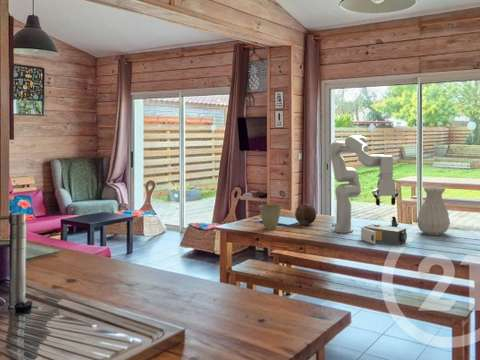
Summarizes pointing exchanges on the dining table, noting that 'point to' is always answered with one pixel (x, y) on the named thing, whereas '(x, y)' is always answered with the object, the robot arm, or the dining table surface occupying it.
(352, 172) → the robot arm
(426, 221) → the vase
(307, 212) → the wooden sphere
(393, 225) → the binoculars
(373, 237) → the side door
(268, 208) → the plant pot
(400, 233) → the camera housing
